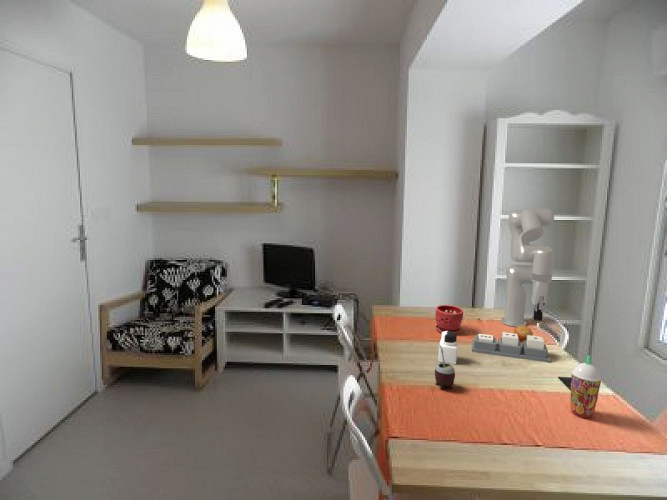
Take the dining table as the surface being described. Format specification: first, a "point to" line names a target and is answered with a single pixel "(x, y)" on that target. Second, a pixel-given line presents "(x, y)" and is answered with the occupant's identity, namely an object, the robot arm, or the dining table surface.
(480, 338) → the three dot tile
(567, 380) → the smartphone
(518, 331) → the fruit
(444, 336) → the medicine bottle
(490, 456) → the dining table surface
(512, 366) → the dining table surface
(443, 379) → the mate gourd
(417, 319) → the dining table surface
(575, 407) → the smoothie
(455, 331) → the plant pot
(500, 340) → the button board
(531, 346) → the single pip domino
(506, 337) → the two dot tile
